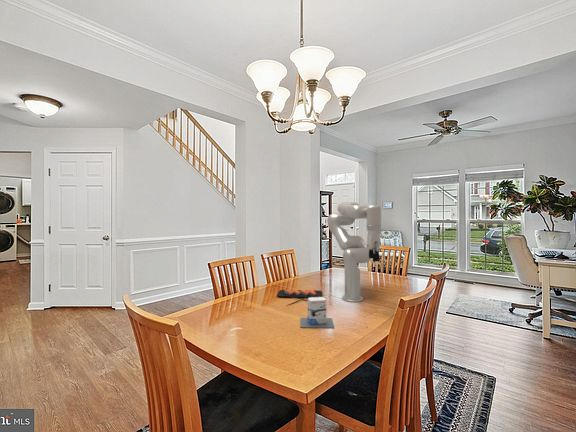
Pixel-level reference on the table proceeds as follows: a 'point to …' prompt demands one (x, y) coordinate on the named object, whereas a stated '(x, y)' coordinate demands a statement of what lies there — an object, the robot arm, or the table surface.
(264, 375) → the table surface
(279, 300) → the table surface
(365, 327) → the table surface
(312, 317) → the ink box
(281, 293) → the sushi plate
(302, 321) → the mat
